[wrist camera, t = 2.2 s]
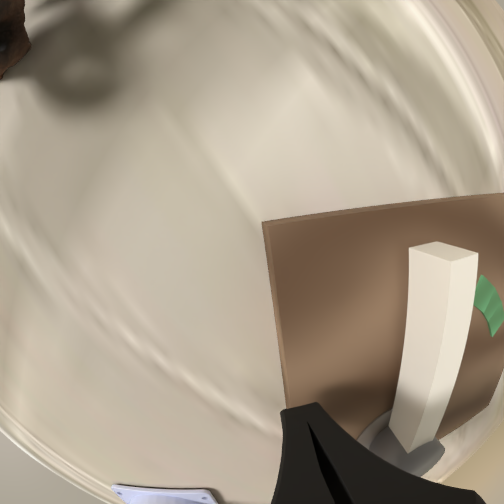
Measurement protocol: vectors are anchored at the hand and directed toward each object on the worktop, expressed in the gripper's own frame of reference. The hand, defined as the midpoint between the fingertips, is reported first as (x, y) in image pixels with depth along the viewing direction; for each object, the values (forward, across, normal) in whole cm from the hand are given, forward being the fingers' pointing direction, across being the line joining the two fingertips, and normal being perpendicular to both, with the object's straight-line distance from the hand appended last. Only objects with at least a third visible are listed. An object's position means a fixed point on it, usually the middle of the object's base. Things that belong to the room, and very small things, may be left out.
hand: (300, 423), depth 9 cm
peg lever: (+2, -6, +1) cm, 6 cm away
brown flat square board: (+3, -9, +2) cm, 10 cm away
